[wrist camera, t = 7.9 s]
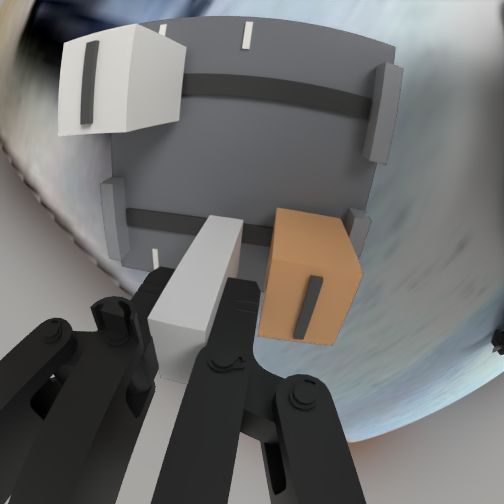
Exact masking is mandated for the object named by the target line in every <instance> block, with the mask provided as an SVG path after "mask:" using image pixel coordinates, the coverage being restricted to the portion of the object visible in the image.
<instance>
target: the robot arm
mask: <svg viewBox="0 0 504 504" xmlns="http://www.w3.org/2000/svg"><path fill="white" fill-rule="evenodd" d="M242 230H243V220H241V219H235V218H227V217H220V216H213V215H210V216H209V217H208V219H207V220H206V222H205V223H204V225H203V227H202V228H201V230H200V231H199V233H198V234H197V236H196V238H195V239H194V241H193V242H192V244H191V246H190V247H189V249H188V250H187V252H186V254H185V255H184V257H183V259H182V260H181V262H180V263H179V265H178V267H177V268H176V269H173V268H168V267H162V266H160V267H158V268H157V269H155V270H153V271H152V272H150V273H149V274H148V276H147V277H146V279H145V280H144V282H143V284H141V286H140V287H139V289H138V292H136V293H135V295H134V296H133V298H132V299H131V301H130V300H128V299H126V298H123V297H116V296H112V297H107V298H103V299H101V300H99V301H97V302H96V303H95V304H93V305H92V306H91V311H92V313H93V316H94V319H95V323H96V325H97V328H98V330H97V331H96V332H85V331H73V330H72V327H71V326H70V324H69V323H68V322H67V321H66V320H64V319H62V318H52V319H48V320H46V321H44V322H43V323H41V324H40V325H39V326H38V327H36V329H34V330H33V331H32V332H31V333H30V334H29V335H27V336H26V337H25V338H24V339H23V340H22V341H21V342H20V343H19V344H17V345H16V346H15V347H14V348H13V349H12V350H11V351H10V352H9V353H8V354H7V355H6V356H5V357H4V358H3V359H2V360H0V504H4V503H5V502H6V501H7V499H8V498H9V497H10V496H11V497H10V500H9V503H8V504H115V503H116V500H117V497H118V494H119V491H120V487H121V484H122V481H123V478H124V475H125V472H126V470H127V466H128V463H129V461H130V458H131V455H132V452H133V449H134V446H135V444H136V441H137V438H138V436H139V433H140V430H141V427H142V425H143V422H144V419H145V416H146V414H147V411H148V408H149V406H150V403H151V401H152V398H153V396H154V393H155V387H156V386H155V383H154V378H155V376H156V374H157V371H158V369H159V373H160V377H161V378H164V379H167V380H172V381H175V382H180V383H183V384H187V387H186V390H185V393H184V396H183V399H182V403H181V406H180V409H179V412H178V415H177V418H176V422H175V425H174V428H173V431H172V434H171V438H170V441H169V444H168V447H167V451H166V454H165V457H164V461H163V464H162V467H161V471H160V474H159V477H158V481H157V484H156V487H155V491H154V494H153V498H152V501H151V504H227V503H228V497H229V492H230V486H231V481H232V475H233V469H234V463H235V458H236V452H237V446H238V440H239V434H240V432H242V433H244V434H246V435H248V436H250V437H253V438H255V439H257V440H259V441H260V442H261V448H262V455H263V460H264V466H265V472H266V478H267V483H268V489H269V495H270V500H271V504H366V501H365V498H364V495H363V491H362V488H361V485H360V482H359V479H358V475H357V472H356V469H355V466H354V463H353V459H352V456H351V453H350V450H349V447H348V444H347V441H346V438H345V435H344V432H343V429H342V426H341V423H340V420H339V417H338V414H337V411H336V408H335V405H334V402H333V399H332V397H331V394H330V392H329V390H328V388H327V387H326V385H325V384H324V383H323V382H321V381H320V380H319V379H318V378H315V377H312V376H310V375H302V374H297V375H293V376H289V377H287V378H286V379H284V378H281V377H279V376H277V375H274V374H272V373H270V372H268V371H266V370H265V369H263V368H262V367H261V366H260V365H259V364H258V363H257V361H256V360H255V358H254V355H253V342H254V335H255V329H256V322H257V315H258V308H259V301H260V294H261V291H260V289H259V287H258V285H257V282H256V281H249V280H243V279H237V278H236V277H237V274H238V268H239V258H240V248H241V239H242ZM53 374H54V376H55V377H53V378H50V377H51V376H52V375H53Z"/></svg>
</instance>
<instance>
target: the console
mask: <svg viewBox="0 0 504 504" xmlns="http://www.w3.org/2000/svg"><path fill="white" fill-rule="evenodd" d="M139 25H141V26H143V27H146V28H148V29H150V30H152V31H155V32H157V33H159V34H161V35H163V36H165V37H167V38H169V39H171V40H173V41H175V42H177V43H179V44H181V45H183V46H185V47H187V48H186V56H185V64H184V72H183V81H182V92H181V103H180V115H179V121H175V122H170V123H165V124H160V125H155V126H150V127H146V128H142V129H137V130H133V131H129V132H119V133H111V151H112V177H111V178H109V179H108V180H106V181H104V182H102V183H100V191H101V202H102V211H103V219H104V227H105V234H106V241H107V247H108V253H109V258H110V259H115V260H119V261H121V263H122V266H124V267H128V268H133V269H138V270H143V271H148V272H152V271H153V270H155V269H157V268H158V267H160V266H162V267H168V268H173V269H176V268H177V267H178V265H179V263H180V262H181V260H182V259H183V257H184V255H185V254H186V252H187V250H188V249H189V247H190V246H191V244H192V242H193V241H194V239H195V238H196V236H197V234H198V233H199V231H200V230H201V228H202V227H203V225H204V223H205V222H206V220H207V219H208V217H209V216H210V215H213V216H220V217H227V218H235V219H241V220H243V230H242V239H241V248H240V258H239V268H238V274H237V277H236V278H237V279H243V280H249V281H256V282H257V285H258V287H259V289H260V291H261V292H264V284H265V277H266V269H267V264H268V258H269V252H270V246H271V240H272V234H273V228H274V222H275V216H276V210H277V208H283V209H289V210H295V211H301V212H307V213H313V214H318V215H324V216H329V217H335V218H340V219H341V221H342V223H343V225H344V227H345V230H346V232H347V234H348V237H349V239H350V241H351V244H352V246H353V249H354V251H355V254H356V256H357V258H358V260H359V257H360V254H361V251H362V248H363V245H364V242H365V239H366V236H367V233H368V230H369V227H370V223H371V219H370V218H369V216H368V215H367V213H366V212H365V208H366V204H367V200H368V197H369V193H370V189H371V185H372V181H373V177H374V173H375V169H376V165H377V163H381V164H384V165H386V164H387V160H388V156H389V151H390V147H391V142H392V137H393V132H394V127H395V121H396V116H397V110H398V104H399V97H400V91H401V83H402V75H403V68H401V67H398V66H396V65H394V58H395V47H394V46H391V45H389V44H386V43H383V42H380V41H377V40H374V39H371V38H367V37H364V36H361V35H357V34H353V33H350V32H346V31H342V30H338V29H333V28H329V27H324V26H319V25H314V24H308V23H302V22H296V21H289V20H281V19H271V18H259V17H240V16H207V17H188V18H177V19H167V20H159V21H152V22H146V23H140V24H139Z"/></svg>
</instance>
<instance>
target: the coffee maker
mask: <svg viewBox="0 0 504 504" xmlns="http://www.w3.org/2000/svg"><path fill="white" fill-rule="evenodd" d="M491 343H492V344H493V346H494V349H493V352H496V351H498V353H499V354H500V355H504V331H502V332H500V330H496V331H495V334H494V336H493V338H492V340H491ZM493 352H492V353H493Z"/></svg>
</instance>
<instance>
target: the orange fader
mask: <svg viewBox="0 0 504 504" xmlns="http://www.w3.org/2000/svg"><path fill="white" fill-rule="evenodd" d="M362 276H363V271H362V269H361V266H360V263H359V261H358V258H357V256H356V254H355V251H354V249H353V246H352V244H351V241H350V239H349V237H348V234H347V232H346V230H345V227H344V225H343V223H342V221H341V219H340V218H335V217H329V216H324V215H318V214H313V213H307V212H301V211H295V210H289V209H283V208H277V210H276V216H275V222H274V228H273V234H272V240H271V246H270V252H269V258H268V264H267V269H266V277H265V284H264V292H263V300H262V308H261V315H260V323H259V330H258V336H259V337H266V338H273V339H280V340H288V341H296V342H304V343H313V344H323V345H333V344H334V341H335V339H336V337H337V335H338V333H339V331H340V328H341V326H342V324H343V322H344V320H345V317H346V315H347V313H348V310H349V308H350V306H351V303H352V301H353V298H354V296H355V294H356V291H357V289H358V286H359V284H360V281H361V278H362Z"/></svg>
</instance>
